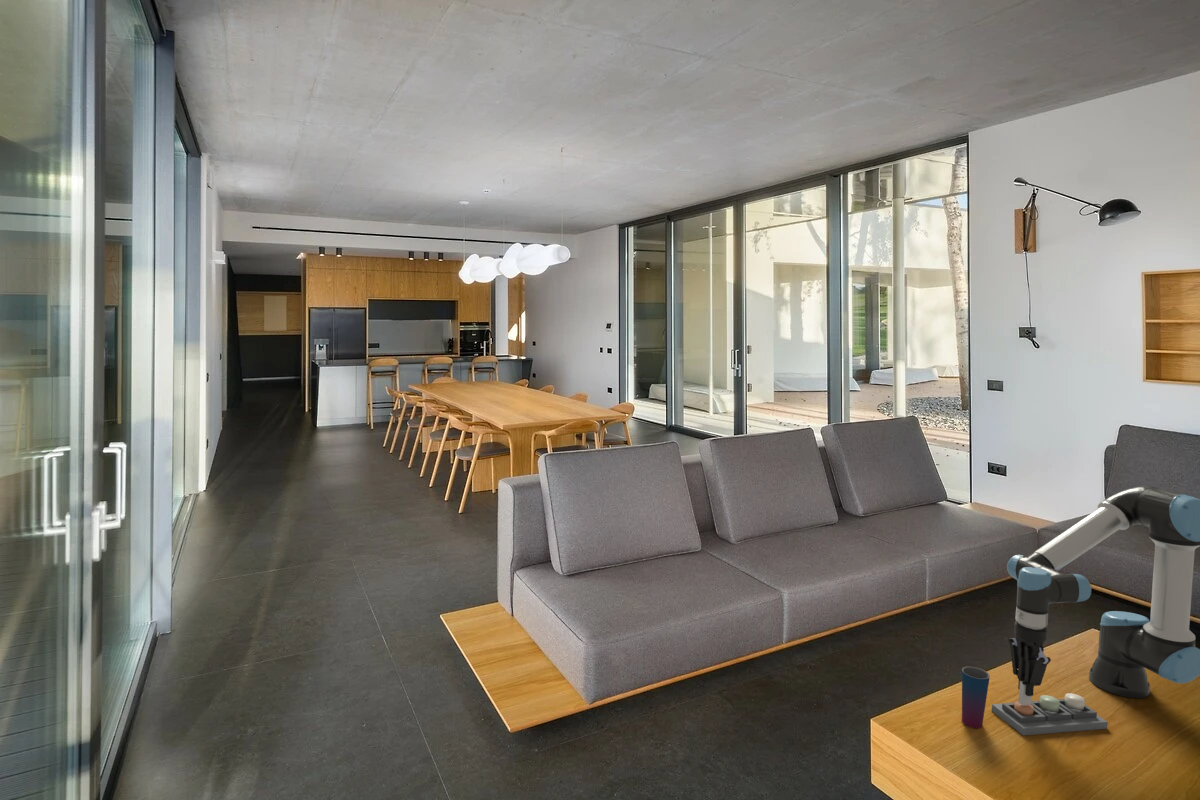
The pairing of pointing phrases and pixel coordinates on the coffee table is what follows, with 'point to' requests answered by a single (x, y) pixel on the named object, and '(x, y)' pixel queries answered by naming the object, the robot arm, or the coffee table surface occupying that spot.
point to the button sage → (1049, 703)
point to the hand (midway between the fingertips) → (1024, 703)
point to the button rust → (1023, 709)
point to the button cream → (1074, 701)
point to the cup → (974, 695)
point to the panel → (1050, 719)
